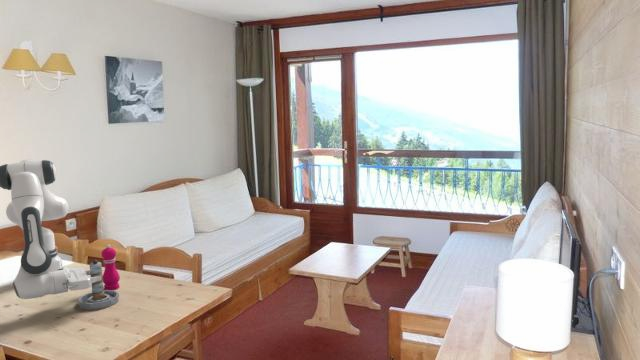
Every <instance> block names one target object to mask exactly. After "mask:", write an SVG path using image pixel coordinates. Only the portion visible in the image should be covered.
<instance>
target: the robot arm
mask: <svg viewBox="0 0 640 360" xmlns="http://www.w3.org/2000/svg"><path fill="white" fill-rule="evenodd" d="M56 178H57V168H56V166H55V165H54V162H52V161H51V160H47V159H43V160H34V159H29V158H28V159H27V158H26V159H23V160H20V161H19V162H14V163H10V164H7V163H5V164H2V165H0V188H1V189H3V190H8V191H10V193H11V194H10V195H11V196H10V197H11V201H10V202H9V203H8V204H7V206H6V208H5V209H6V210H5V215H6V217H7V219H8V220H9V221H10V222H11V223H14V224H16V225H17V226H18V227H19V228H21V230H22V234H23V242H24V249H23V252H22V254H21V257H20V267H19V270H18V271H17V275H16V276H15V278H14V280H13V282H12V286H13V289H14V292H15V294H16V297H17V298H19V299H22V300H31V299H38V298H42V297H45V296H48V295H58V294H63V293H68V292H69V290H70V291H79V290H80V291H81V290H86V289H90V288H92V284H91V283H94V282H96V281H100V280H102V277H101V276H100V275H99V276H96V277H91V275H90V274H91V273H90V269H85V268H84V267H82V266H81V267H78V266H77V267H70V268H68V266H64V265H63V259H62V258H61V257H60V256H59V255H58V254H59V253H58V246H57V245H56V242H55V241H56V239H55V233H54V232H53V230H51V229H49V228H47V227H44V226H42V222H47V221H55V220H59V219H62V218H65V217H66V216H67V214H68V213H69V210H70V208H69V207H70V206H69V203H68V201H67V199H65V198H64V197H61V196H58V195H57V194H55V193H52V191H50V189H49V187H48V185H51V184H53V183H55V181H56Z"/></svg>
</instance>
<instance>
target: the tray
mask: <svg viewBox="0 0 640 360" xmlns="http://www.w3.org/2000/svg"><path fill="white" fill-rule="evenodd" d="M92 293H93V292H92V291H91V292H89V293H86V294H83V295H82V296H80V297H79V298H78V299H77V303H78V305H79V308H80V309H82V310H86V311H91V310H93V311H94V310H100V309H105V308H109V307H111V306H114V305H116V304H117V303H118V302H119V300H120V292H118V291H116V290H105V289H104V296H105V298H104V299H102V300H93V294H92Z"/></svg>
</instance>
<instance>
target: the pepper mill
mask: <svg viewBox="0 0 640 360" xmlns="http://www.w3.org/2000/svg"><path fill="white" fill-rule="evenodd" d="M116 256H117V251H116V249H115V248H114V247H111V245H110V244H106V246H105V248H104V249H103V250H102V251H101V257H102V258H103V260H102V261H103V264H104V272H103V273H102V276H103V286H104V290H112V291H116V290H117V289H119V288H120V282H119V281H121V280H120V278H121V276H120V274H119V271H118V270H117V268H116V263H115V262H116Z"/></svg>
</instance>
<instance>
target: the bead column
mask: <svg viewBox="0 0 640 360" xmlns="http://www.w3.org/2000/svg"><path fill="white" fill-rule="evenodd" d="M89 270H90V273H91V274H90V275H89V276H90V277H96V276H99V275H100V276H101V277H102V280H100V281H96V282H94V283H91V293H92V292H93V293H92V294H93V300H102V299H104V298H105V296H104V290H105V289H104V283H103V269H102V262H100V261H98V260H97V259H94V260H92V262H91V263H89Z"/></svg>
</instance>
